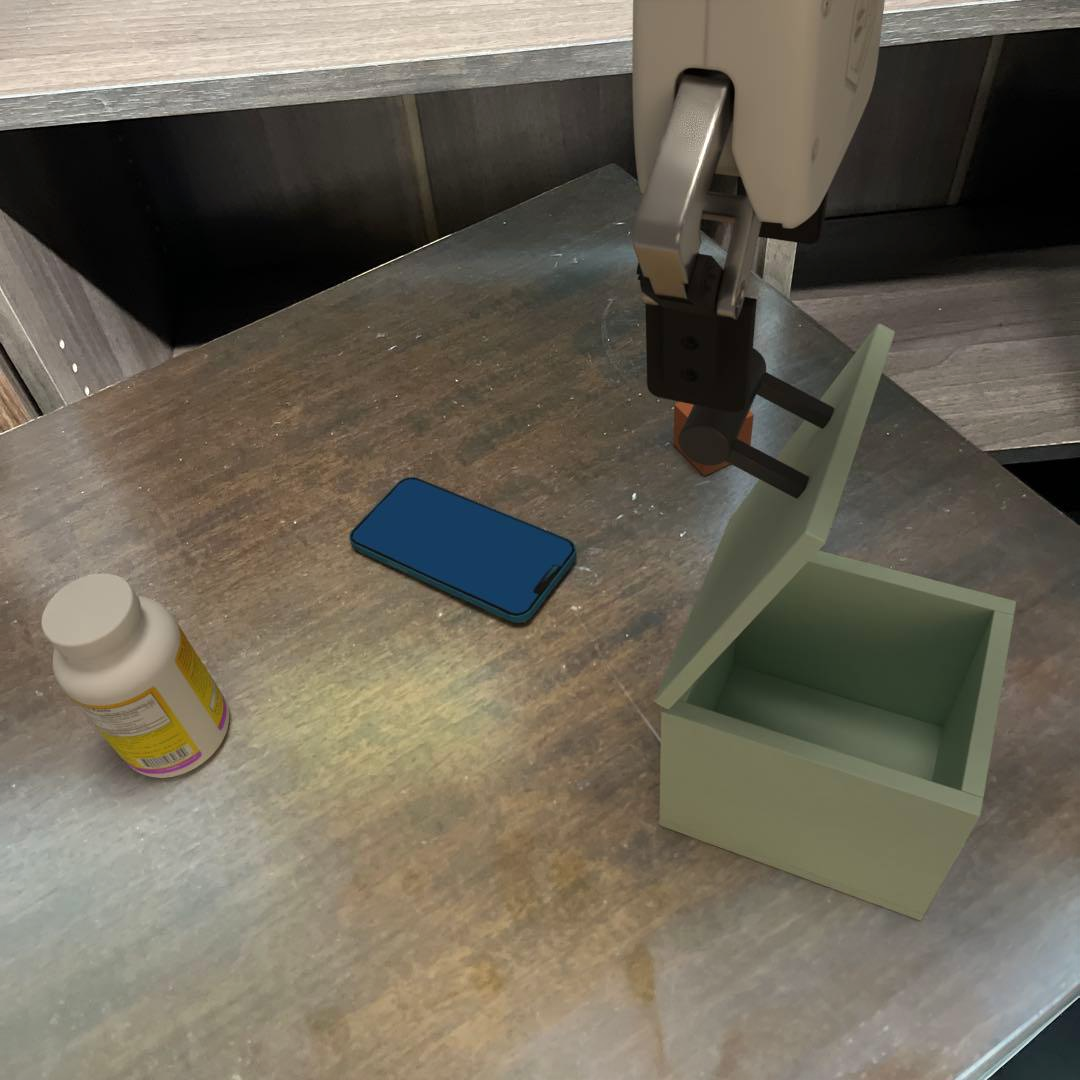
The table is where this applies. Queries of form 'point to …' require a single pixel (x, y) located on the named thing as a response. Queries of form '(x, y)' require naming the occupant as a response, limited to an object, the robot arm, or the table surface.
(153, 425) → the table surface
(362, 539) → the smartphone
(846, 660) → the green box
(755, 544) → the box lid
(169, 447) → the table surface
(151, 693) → the supplement bottle
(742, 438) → the block
